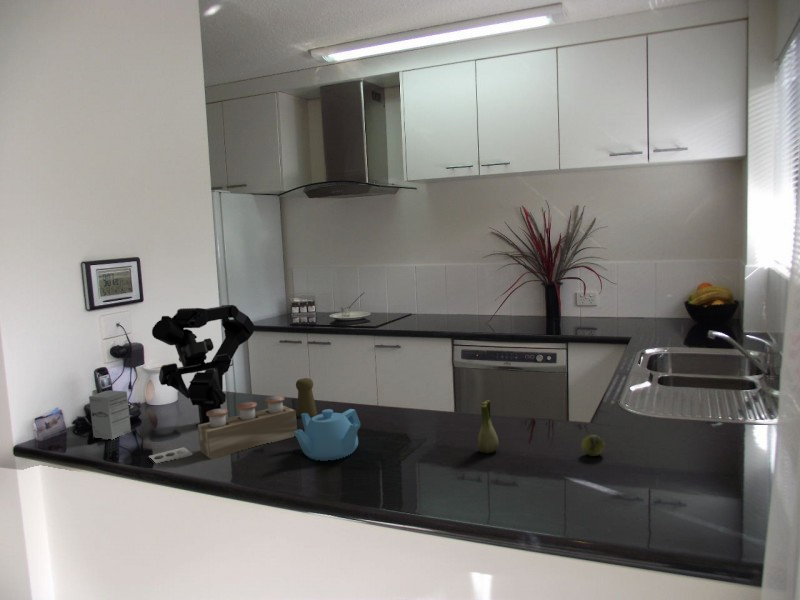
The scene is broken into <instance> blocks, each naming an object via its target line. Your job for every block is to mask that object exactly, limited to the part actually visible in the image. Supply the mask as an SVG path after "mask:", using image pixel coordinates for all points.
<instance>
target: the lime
mask: <svg viewBox="0 0 800 600" xmlns="http://www.w3.org/2000/svg"><path fill="white" fill-rule="evenodd" d="M580 443H581V444H580V445H581V446H580V447H581V448H582V450H583V453H585V454H586V455H587V456H589V457H596V456H597V457H598V456H599V455H601V454H602V453H603V451H604V450H605V448H606V447H605V446H606V444H605V441H604V439H603V438H602V437H601V436H599V435H597V434H589V435H587V436H586V437H584V438H583V439H582V440H581V442H580Z"/></svg>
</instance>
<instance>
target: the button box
mask: <svg viewBox="0 0 800 600" xmlns="http://www.w3.org/2000/svg"><path fill="white" fill-rule="evenodd" d="M255 416H256V418H255V419H251V420H247V421H241V420H240V414H239V415H235V416H230V417H226V426H222V427H217V428H213V429H212V428H211V427H210V422H209V423H204V424H200V425H198V426H197V432H198V440H199V451H200V453H202V454H204V455H205V456H206V457H208V458H209V459H211V460H212V459H216V458H220V457H223V456H228V455H231V454H235V453H238V451H239V452H242V451H241V450H243V451H246V450H249V449H248V448H250V449H253V448H252V447H254V448H256V447H255V446H258V447H260V446H259V445H261V446H263V445H262V444H265V445H267V444H266V443H269V444H272V443H275V442H280V441H283V440H287V439H290V438H291V439H292V438H294V436H295V437H296V435H295V433H294V432H295V431H297V430H298V421H297V411H296V410H295V409H293V408H290V407H288V406H287V405H284V404H283V412H280V413H276V414H272V415H271V414H269V413H268V408H265V409H261V410H255ZM271 442H272V443H271ZM245 449H246V450H245Z"/></svg>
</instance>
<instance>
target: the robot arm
mask: <svg viewBox="0 0 800 600" xmlns="http://www.w3.org/2000/svg"><path fill="white" fill-rule="evenodd" d="M219 320H221V326H222V328H223V329H224V330H223V331H224V333H223V334H224V339H223V341H222V342H221V344H220V346H219V348H218V349H217V351H216V353H215V355H214V356H213V357H212V359H211V361H209V362H208V361H207V362H206V361H205V360H207V358H208V357H207V355H206V354H208V353H209V352H212V351H213V350H214V347H215V346H214V343H213V341H212V338H205V339H203V340H201V341H197V340H196V339H197V338H198V336H197V334H195V333H193V331H192V330H191V329H199V328H202V327H204V326H206V325H207V323H209V322H213V321H214V322H215V321H219ZM254 331H255V325H254V323H253V321H252V320H251V318H250V317H249V316H248V315H247V314H245V313H244V312H242V311H241V310H239V308H238V306H236V305H234V304H222V305H221V306H216V307H215V306H214V307H208V308H201V307H191V308H190V307H189V308H188V307H187V308H179V309H177V310H176V313H175V314H174V315H173V316H172V317H171V316H169V315H162V316H161V318H160V319H159V320H158V321H157V322H155V324H154V326H153V327H152V329H151V334H152V337H153V338H154V339H156V340H157V341H160V342H163V343H164V344H166V345H168V346H174V347H175V349H176V352H177V355H178V361H179V363H181V365H182V366H179V367H178V364H177V363H176V362H173V363H168V364H164V365H161V367H160V370H159V374H158V380H159V381H158V382H159V383H160V385H161V386H165V385H166V386H167V387H171V388H174V389H175V390H177V391H178V392H179V393H180V394H181V395H183V396H184V397H185V398H186V399H190V403H191V404H192V406H197V407H198V419H199V422H196V423H195V426H196V427H198V425H200V424H204V423H209V422H210V420H209V416H207V415H206V412H208V411H210V410H213V409H222V405H223V404H224V403H226V400H227V394H226V393H225V392H224V391H223V389H224V388H223V387H224V385H223V384H224V382H223V381H224V380H223V378H224V377H223V376H224V375H225V373H227V372H228V371H229V369H230V366H231V364H232V359H233V357H234V356H235V354H236V352H237V350H238V349H239V347H240V345H242V344H243V343H246V342H247V341H248V340H249V339H250V338H251V337H252V335H253V334H254ZM187 374H194V375H193V377H192V379H191V380H190V381H189V386H188V387H187V386H186V383H185V381H184V379H183V375H187Z"/></svg>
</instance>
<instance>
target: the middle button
mask: <svg viewBox="0 0 800 600" xmlns="http://www.w3.org/2000/svg"><path fill="white" fill-rule="evenodd" d="M257 407H258V403H257V402H256V401H248V402H247V401H246V402H242V403H238V404H236V410H238V411H239V415H240V420H241V421H247V420H251V419H255V418H256V416H255V412H256V408H257Z"/></svg>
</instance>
